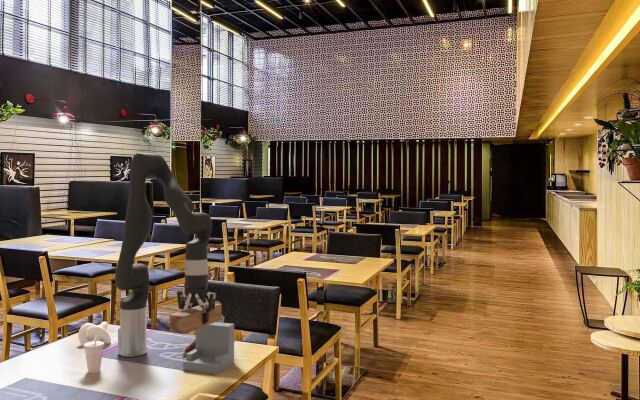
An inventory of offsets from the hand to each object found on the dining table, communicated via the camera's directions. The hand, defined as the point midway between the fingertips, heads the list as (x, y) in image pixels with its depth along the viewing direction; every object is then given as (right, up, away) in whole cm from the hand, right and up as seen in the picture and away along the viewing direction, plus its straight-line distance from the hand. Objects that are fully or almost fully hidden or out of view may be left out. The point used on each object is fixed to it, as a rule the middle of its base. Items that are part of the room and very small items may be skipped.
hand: (196, 322), depth 168 cm
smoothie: (-35, -17, +2) cm, 39 cm away
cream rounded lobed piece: (-47, -17, +31) cm, 59 cm away
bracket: (+3, -17, +9) cm, 19 cm away
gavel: (-6, -18, +28) cm, 34 cm away
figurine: (-3, -16, +34) cm, 38 cm away
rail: (0, -1, 0) cm, 1 cm away
